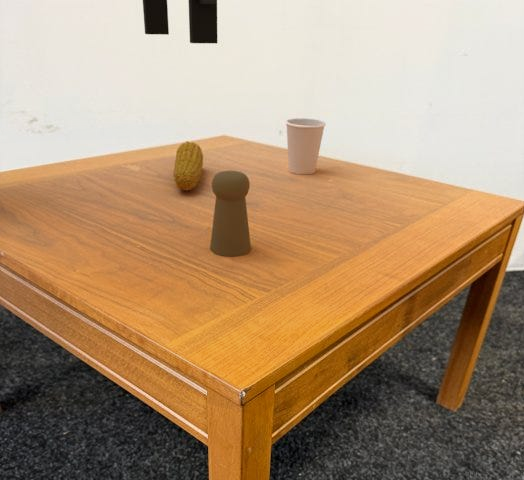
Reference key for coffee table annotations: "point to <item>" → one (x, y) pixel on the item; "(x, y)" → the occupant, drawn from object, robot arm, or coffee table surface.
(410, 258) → the coffee table surface
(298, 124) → the dixie cup
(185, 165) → the food
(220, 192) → the cork
